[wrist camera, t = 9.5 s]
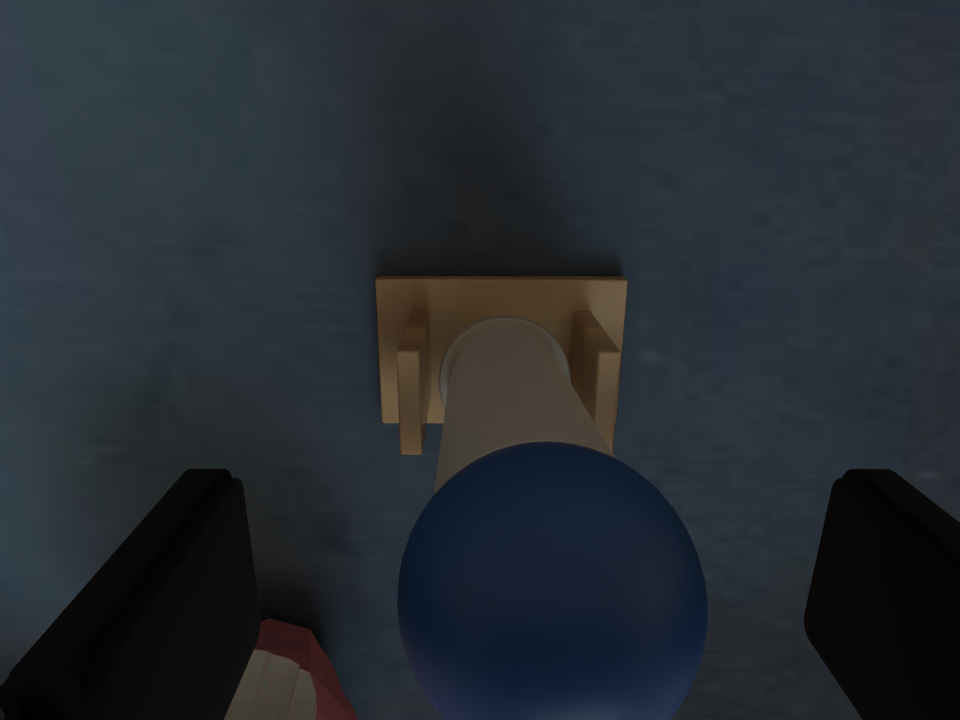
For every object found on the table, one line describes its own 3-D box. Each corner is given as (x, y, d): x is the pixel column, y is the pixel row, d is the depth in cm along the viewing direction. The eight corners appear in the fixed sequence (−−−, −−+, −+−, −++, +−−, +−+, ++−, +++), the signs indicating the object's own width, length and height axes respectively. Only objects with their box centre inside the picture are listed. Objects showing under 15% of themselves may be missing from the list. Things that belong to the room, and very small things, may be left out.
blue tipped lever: (370, 527, 6) (381, 864, 6) (789, 527, 6) (747, 859, 7) (438, 314, 18) (440, 439, 19) (570, 314, 18) (566, 439, 19)
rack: (377, 275, 20) (350, 312, 16) (624, 276, 20) (668, 314, 16) (384, 416, 22) (361, 488, 17) (612, 416, 22) (649, 487, 17)
